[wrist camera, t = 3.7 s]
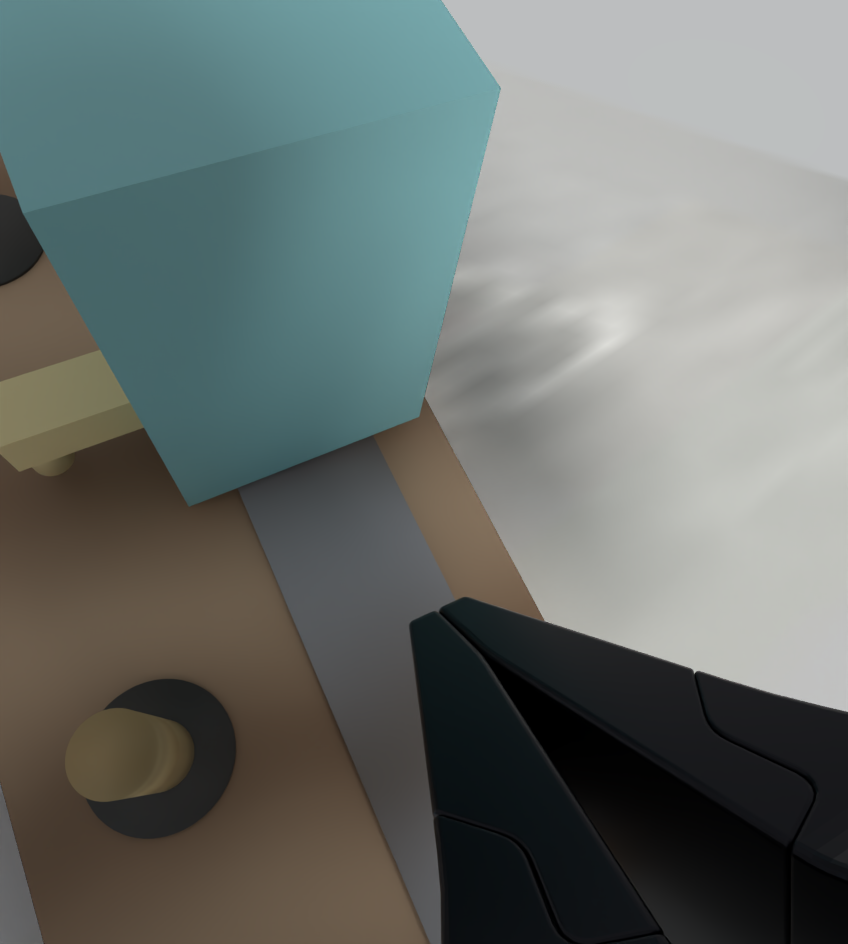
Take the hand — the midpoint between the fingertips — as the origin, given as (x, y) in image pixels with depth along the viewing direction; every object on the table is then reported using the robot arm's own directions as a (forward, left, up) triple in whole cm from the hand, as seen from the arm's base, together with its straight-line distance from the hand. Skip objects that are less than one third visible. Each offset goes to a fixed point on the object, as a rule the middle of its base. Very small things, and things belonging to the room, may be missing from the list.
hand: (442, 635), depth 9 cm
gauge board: (+6, 0, -7) cm, 9 cm away
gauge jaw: (+7, -1, -4) cm, 8 cm away
